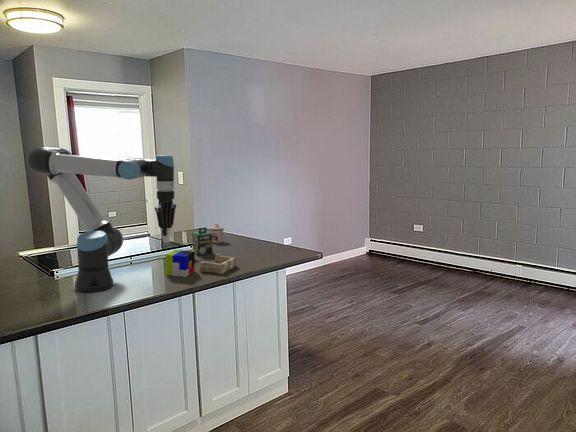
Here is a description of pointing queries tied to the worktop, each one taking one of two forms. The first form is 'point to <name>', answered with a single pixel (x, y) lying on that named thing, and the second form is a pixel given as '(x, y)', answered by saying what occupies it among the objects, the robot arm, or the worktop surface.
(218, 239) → the teacup with lid
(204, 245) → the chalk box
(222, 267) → the beige low frame piece
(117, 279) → the worktop surface
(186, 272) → the puzzle toy
